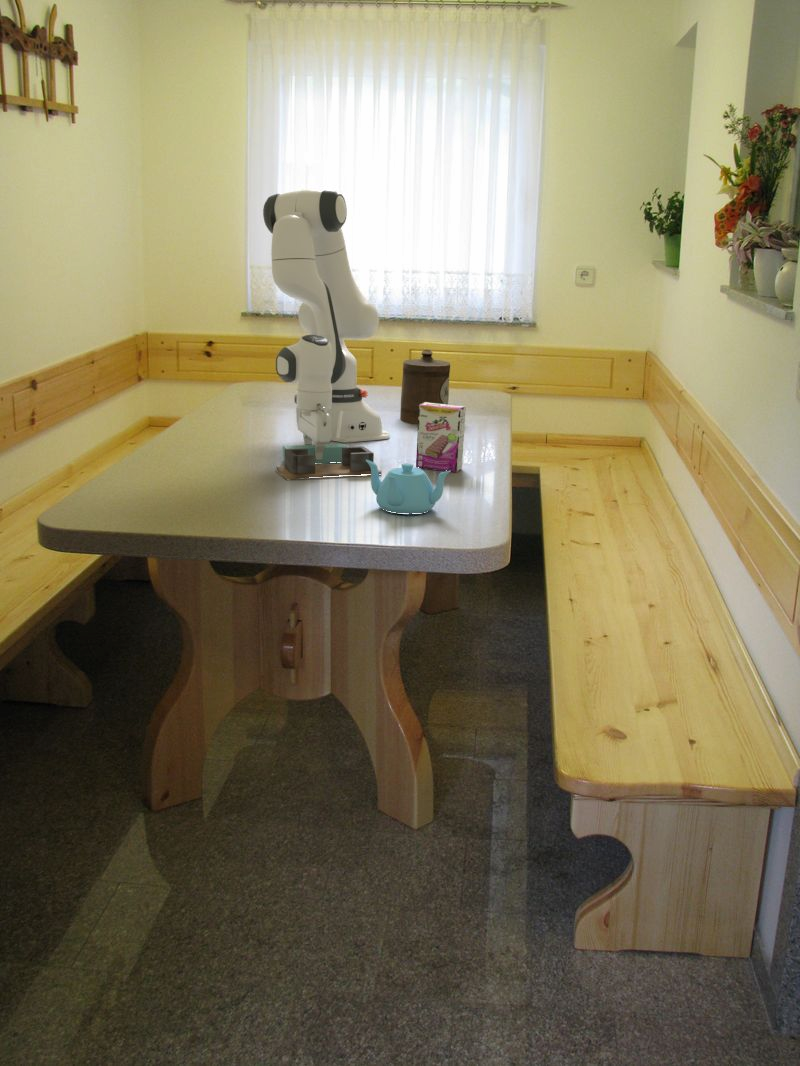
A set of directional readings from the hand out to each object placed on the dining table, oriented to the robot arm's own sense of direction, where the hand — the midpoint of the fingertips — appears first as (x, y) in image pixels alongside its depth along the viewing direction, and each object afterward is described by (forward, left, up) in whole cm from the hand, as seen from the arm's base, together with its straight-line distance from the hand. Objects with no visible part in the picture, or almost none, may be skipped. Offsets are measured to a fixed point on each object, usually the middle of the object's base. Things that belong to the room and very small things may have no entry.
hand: (313, 454), depth 282 cm
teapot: (-7, +49, -2) cm, 50 cm away
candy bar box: (-30, +13, -2) cm, 32 cm away
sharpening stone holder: (-1, +12, -2) cm, 12 cm away
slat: (-1, 0, -2) cm, 2 cm away
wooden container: (-51, -51, -2) cm, 72 cm away
